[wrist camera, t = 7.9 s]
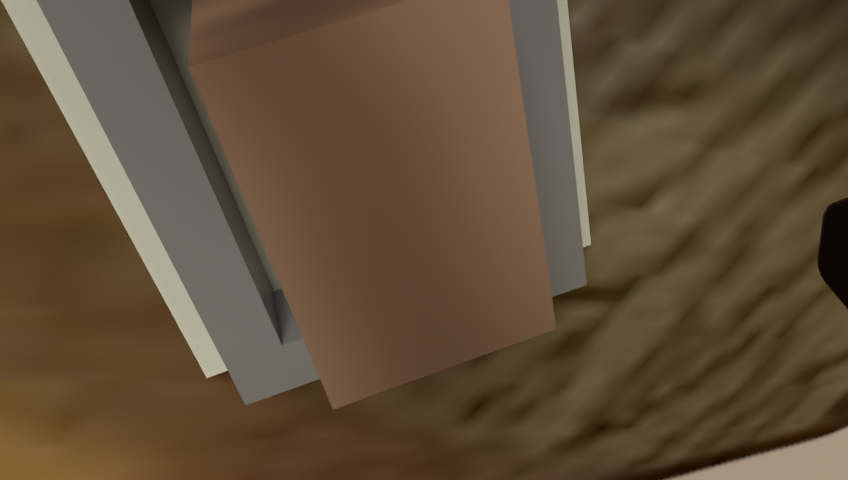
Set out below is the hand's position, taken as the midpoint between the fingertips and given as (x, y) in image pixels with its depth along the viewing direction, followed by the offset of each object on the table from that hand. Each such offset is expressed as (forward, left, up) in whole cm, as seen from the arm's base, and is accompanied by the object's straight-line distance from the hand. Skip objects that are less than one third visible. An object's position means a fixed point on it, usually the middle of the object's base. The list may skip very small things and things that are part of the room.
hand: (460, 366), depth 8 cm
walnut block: (0, 0, -8) cm, 8 cm away
